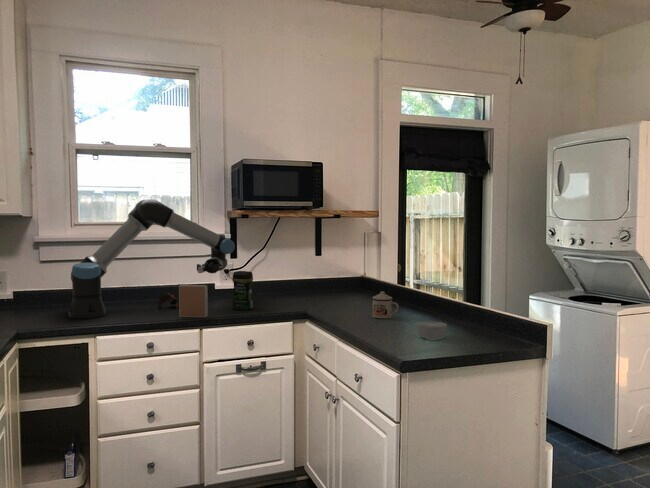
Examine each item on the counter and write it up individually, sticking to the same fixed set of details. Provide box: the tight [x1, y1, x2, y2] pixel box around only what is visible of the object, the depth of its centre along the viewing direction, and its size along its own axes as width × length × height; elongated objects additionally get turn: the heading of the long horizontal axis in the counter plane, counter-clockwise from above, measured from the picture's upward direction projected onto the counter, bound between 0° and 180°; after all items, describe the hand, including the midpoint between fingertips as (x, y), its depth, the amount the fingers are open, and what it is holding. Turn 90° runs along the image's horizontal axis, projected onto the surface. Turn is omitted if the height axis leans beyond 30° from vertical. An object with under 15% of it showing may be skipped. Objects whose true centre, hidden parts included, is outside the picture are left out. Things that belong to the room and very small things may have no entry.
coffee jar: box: [231, 270, 254, 311], centre depth 247 cm, size 10×8×19 cm
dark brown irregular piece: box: [156, 292, 179, 309], centre depth 251 cm, size 12×10×8 cm
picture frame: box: [178, 284, 209, 318], centre depth 228 cm, size 12×3×14 cm, turn 87°
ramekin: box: [416, 320, 448, 339], centre depth 190 cm, size 11×11×5 cm
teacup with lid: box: [371, 291, 399, 319], centre depth 226 cm, size 12×9×12 cm
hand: (199, 270), depth 236 cm, fingers closed
